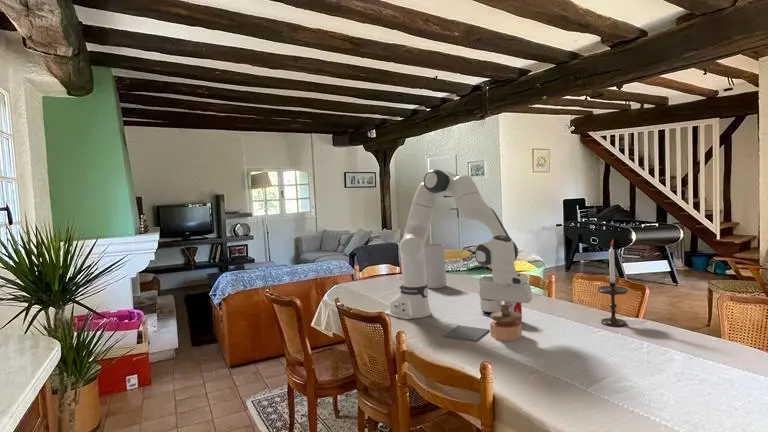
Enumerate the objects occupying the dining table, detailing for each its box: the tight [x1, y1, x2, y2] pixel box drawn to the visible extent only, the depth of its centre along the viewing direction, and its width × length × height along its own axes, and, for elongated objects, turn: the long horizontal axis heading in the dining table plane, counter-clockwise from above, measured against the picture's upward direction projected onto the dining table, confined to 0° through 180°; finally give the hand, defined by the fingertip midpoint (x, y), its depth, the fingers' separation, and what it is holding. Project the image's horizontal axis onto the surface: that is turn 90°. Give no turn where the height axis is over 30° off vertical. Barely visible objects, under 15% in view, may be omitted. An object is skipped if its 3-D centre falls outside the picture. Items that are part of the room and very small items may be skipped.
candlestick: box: [597, 239, 629, 328], centre depth 184 cm, size 11×11×35 cm
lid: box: [490, 303, 523, 322], centre depth 177 cm, size 12×12×5 cm
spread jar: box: [479, 297, 503, 315], centre depth 211 cm, size 12×11×12 cm
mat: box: [443, 324, 491, 343], centre depth 183 cm, size 14×14×1 cm
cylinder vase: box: [424, 243, 447, 290], centre depth 268 cm, size 12×12×25 cm
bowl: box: [489, 320, 523, 342], centre depth 177 cm, size 11×11×5 cm
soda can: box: [503, 301, 523, 323], centre depth 194 cm, size 7×7×12 cm
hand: (505, 311), depth 177 cm, fingers closed on lid, 3 cm apart
